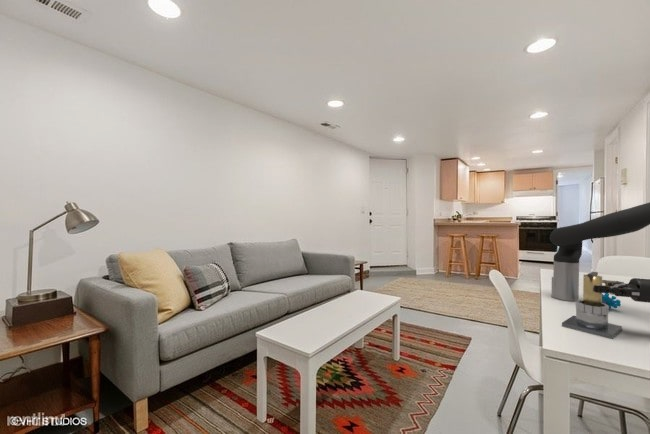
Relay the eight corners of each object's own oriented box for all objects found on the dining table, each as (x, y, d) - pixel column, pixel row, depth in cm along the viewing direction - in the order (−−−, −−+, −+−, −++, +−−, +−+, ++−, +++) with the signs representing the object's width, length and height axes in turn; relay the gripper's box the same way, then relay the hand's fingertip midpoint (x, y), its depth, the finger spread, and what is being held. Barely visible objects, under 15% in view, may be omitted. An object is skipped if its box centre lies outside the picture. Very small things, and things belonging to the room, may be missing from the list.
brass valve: (580, 310, 102) (580, 273, 102) (586, 307, 106) (586, 270, 106) (598, 314, 98) (599, 275, 98) (604, 310, 102) (604, 273, 102)
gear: (626, 307, 120) (614, 291, 118) (623, 319, 118) (611, 303, 116) (592, 303, 130) (581, 288, 128) (589, 314, 128) (577, 299, 125)
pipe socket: (561, 326, 104) (562, 301, 103) (573, 318, 111) (573, 296, 111) (612, 339, 93) (613, 312, 93) (621, 329, 101) (622, 304, 101)
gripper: (640, 275, 102) (581, 271, 109) (667, 284, 89) (597, 279, 96) (640, 297, 102) (580, 291, 109) (666, 309, 89) (597, 302, 96)
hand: (588, 285), depth 102 cm, fingers open, 8 cm apart
